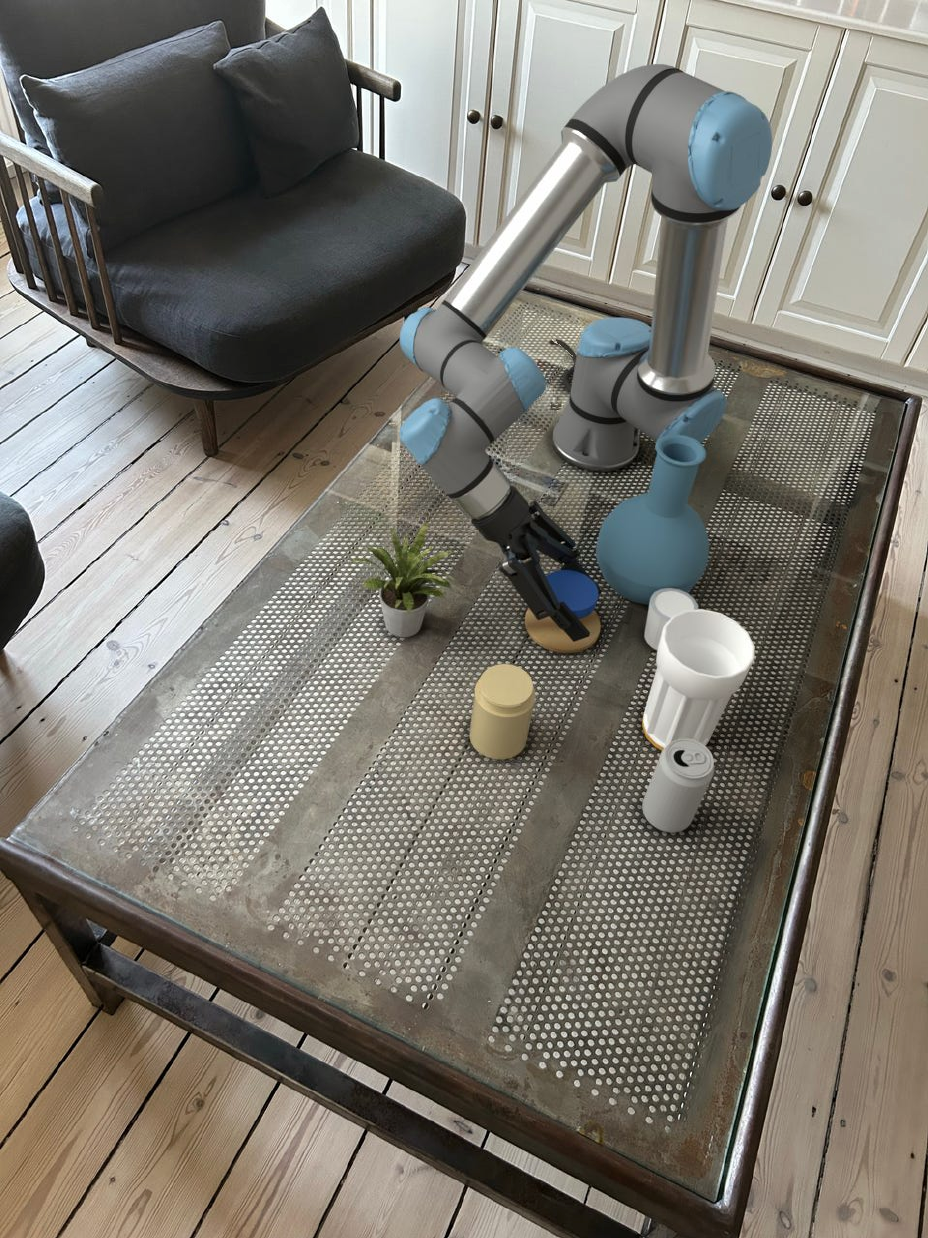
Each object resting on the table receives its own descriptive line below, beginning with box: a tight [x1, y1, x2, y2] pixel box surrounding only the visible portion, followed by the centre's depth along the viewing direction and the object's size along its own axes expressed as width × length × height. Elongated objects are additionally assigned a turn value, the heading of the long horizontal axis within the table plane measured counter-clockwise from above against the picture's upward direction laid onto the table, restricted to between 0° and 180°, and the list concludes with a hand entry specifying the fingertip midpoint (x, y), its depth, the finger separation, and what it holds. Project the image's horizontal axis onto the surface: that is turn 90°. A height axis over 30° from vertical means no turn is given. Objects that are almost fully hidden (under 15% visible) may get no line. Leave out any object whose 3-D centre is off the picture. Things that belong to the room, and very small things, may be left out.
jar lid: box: [545, 569, 599, 619], centre depth 138 cm, size 8×8×2 cm
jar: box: [468, 663, 537, 760], centre depth 125 cm, size 8×8×11 cm
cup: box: [641, 608, 756, 752], centre depth 125 cm, size 11×11×17 cm
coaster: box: [524, 607, 602, 654], centre depth 143 cm, size 11×11×1 cm
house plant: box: [345, 520, 459, 638], centre depth 134 cm, size 14×14×16 cm
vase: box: [595, 434, 710, 606], centre depth 142 cm, size 16×16×25 cm
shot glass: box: [644, 588, 699, 651], centre depth 140 cm, size 7×7×7 cm
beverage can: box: [641, 738, 715, 833], centre depth 118 cm, size 6×6×12 cm
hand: (588, 615), depth 140 cm, fingers closed on jar lid, 8 cm apart
